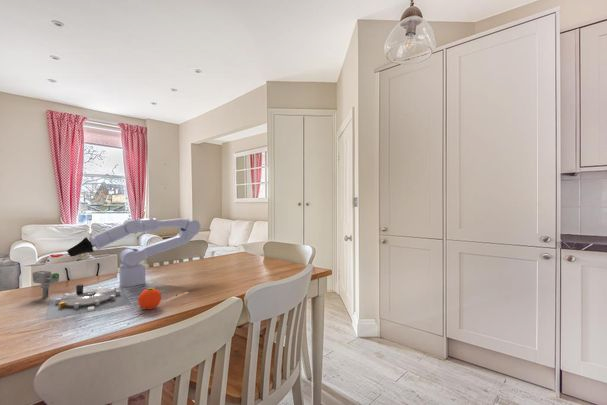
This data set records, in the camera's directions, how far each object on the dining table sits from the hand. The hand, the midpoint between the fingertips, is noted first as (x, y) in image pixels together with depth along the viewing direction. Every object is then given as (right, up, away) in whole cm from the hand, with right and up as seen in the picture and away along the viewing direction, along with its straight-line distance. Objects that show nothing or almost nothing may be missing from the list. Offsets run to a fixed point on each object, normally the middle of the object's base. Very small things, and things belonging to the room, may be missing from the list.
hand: (68, 253), depth 106 cm
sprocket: (+12, -16, -5) cm, 20 cm away
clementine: (+36, -17, -10) cm, 41 cm away
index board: (+13, -17, -6) cm, 22 cm away
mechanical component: (-6, -16, -3) cm, 18 cm away
